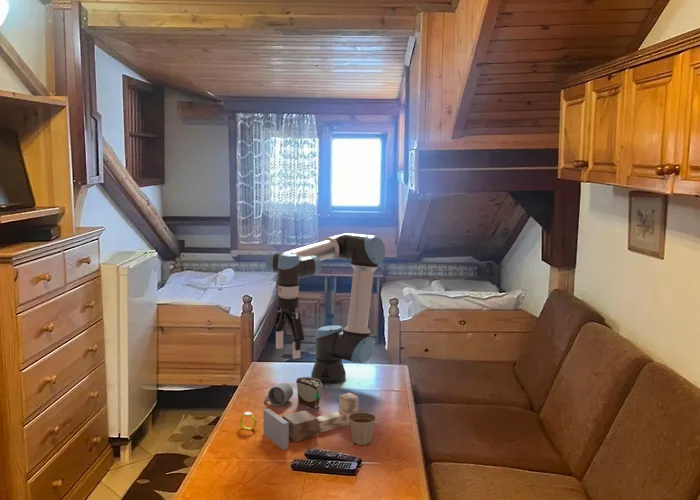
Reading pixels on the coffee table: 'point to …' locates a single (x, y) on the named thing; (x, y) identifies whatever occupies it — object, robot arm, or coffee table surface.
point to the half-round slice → (309, 392)
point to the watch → (248, 416)
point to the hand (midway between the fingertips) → (287, 353)
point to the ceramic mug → (279, 394)
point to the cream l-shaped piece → (339, 413)
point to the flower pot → (361, 427)
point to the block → (301, 425)
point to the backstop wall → (276, 429)
